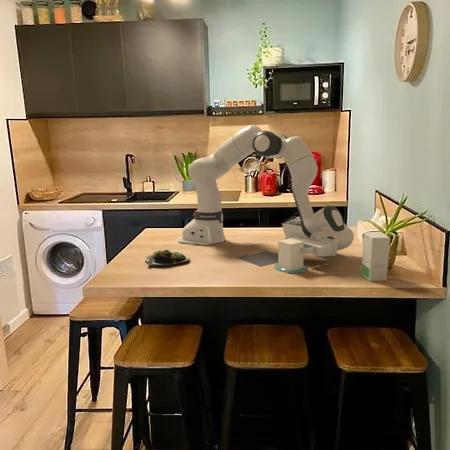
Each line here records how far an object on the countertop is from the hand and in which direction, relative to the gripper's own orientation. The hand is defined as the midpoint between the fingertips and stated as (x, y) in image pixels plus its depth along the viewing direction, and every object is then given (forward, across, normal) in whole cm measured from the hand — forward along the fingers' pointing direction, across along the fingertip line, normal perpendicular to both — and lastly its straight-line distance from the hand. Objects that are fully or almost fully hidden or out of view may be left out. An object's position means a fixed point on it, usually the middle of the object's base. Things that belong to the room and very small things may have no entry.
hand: (293, 248), depth 176 cm
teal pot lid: (+1, 0, +8) cm, 8 cm away
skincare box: (-15, +25, +8) cm, 30 cm away
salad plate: (+34, -38, +8) cm, 51 cm away
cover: (+1, 0, +7) cm, 7 cm away
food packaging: (-42, -34, +8) cm, 55 cm away
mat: (+1, -16, +8) cm, 18 cm away
